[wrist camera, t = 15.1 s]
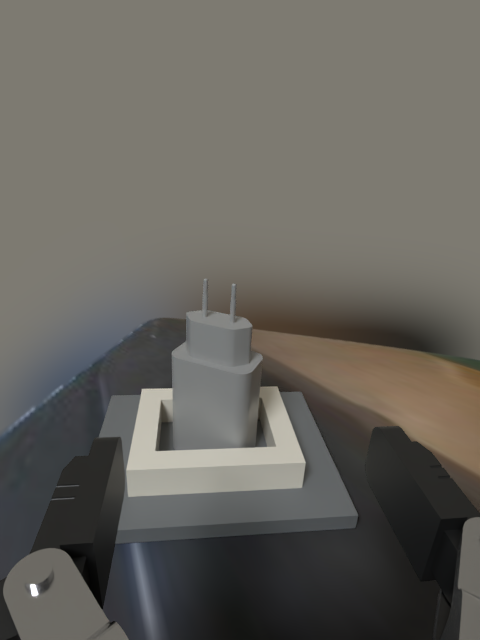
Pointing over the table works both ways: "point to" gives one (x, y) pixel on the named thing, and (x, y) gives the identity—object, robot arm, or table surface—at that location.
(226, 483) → the docking plate
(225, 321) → the power adapter
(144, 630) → the table surface
